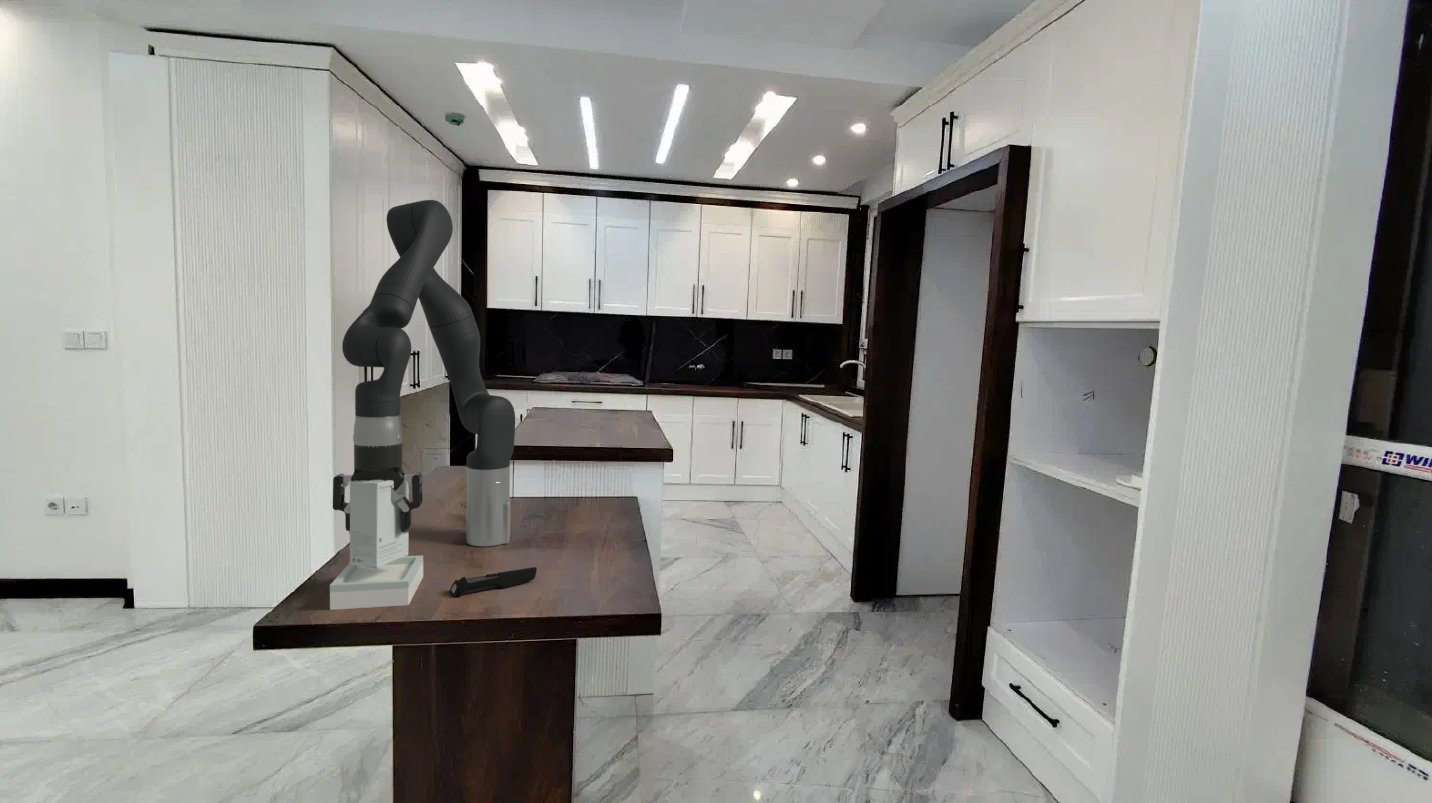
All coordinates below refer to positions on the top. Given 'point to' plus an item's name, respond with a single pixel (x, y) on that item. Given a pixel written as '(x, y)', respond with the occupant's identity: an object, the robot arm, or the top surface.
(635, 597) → the top surface
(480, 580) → the electric trimmer
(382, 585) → the white open tray
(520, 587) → the top surface
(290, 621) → the top surface
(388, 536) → the skincare box
